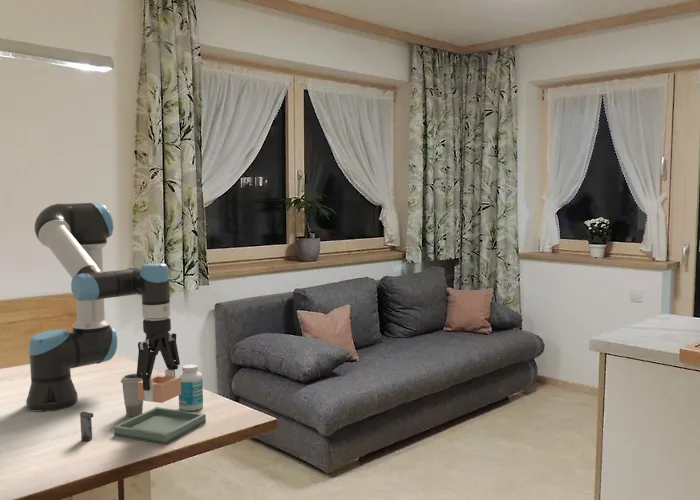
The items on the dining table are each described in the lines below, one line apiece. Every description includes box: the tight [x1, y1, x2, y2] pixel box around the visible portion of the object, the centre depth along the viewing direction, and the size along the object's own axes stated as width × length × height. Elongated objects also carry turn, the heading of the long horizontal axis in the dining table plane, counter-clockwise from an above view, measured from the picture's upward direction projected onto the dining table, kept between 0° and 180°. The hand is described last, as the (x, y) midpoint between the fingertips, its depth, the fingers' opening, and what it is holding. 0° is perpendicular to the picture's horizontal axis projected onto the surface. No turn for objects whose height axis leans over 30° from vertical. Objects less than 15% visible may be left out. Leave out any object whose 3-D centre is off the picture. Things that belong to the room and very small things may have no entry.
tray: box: [113, 406, 207, 445], centre depth 184 cm, size 18×18×2 cm
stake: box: [79, 411, 94, 442], centre depth 176 cm, size 4×3×8 cm
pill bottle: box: [178, 363, 204, 412], centre depth 201 cm, size 8×7×14 cm
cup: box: [120, 372, 144, 418], centre depth 196 cm, size 7×7×12 cm
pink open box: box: [137, 374, 181, 404], centre depth 183 cm, size 8×10×5 cm
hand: (160, 396), depth 183 cm, fingers closed on pink open box, 8 cm apart
